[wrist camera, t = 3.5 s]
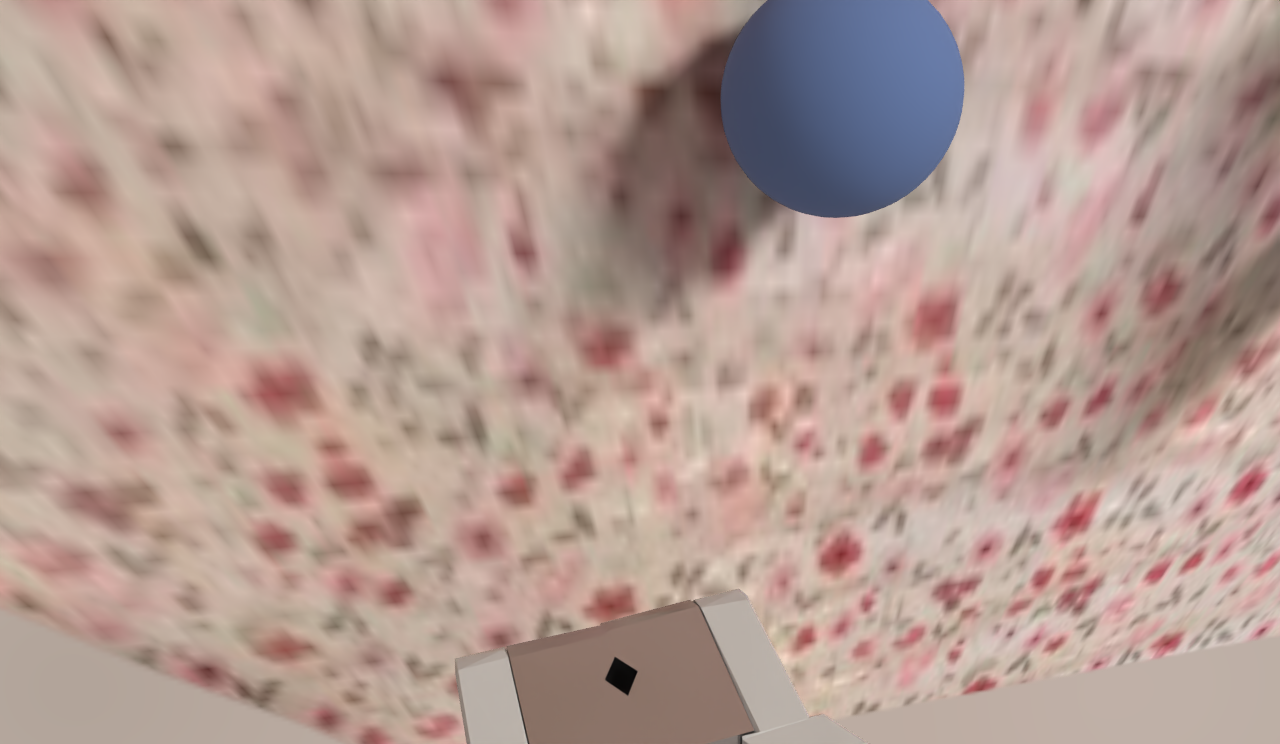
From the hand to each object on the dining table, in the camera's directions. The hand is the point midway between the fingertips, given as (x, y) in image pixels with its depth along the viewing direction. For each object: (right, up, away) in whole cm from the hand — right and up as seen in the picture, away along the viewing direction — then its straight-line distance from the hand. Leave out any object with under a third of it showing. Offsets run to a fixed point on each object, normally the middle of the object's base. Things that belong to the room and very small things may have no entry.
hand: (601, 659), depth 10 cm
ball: (+5, +9, +13) cm, 17 cm away
